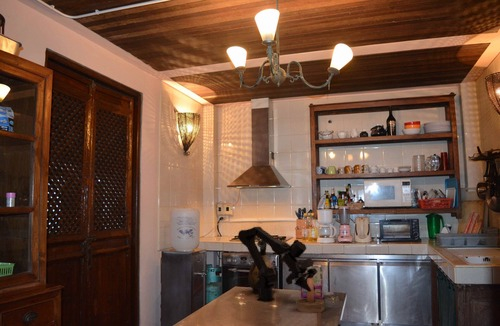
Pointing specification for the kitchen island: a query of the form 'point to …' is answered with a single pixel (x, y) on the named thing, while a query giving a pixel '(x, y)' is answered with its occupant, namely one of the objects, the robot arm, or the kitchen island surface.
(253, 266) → the ceramic jug
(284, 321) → the kitchen island surface
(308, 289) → the robot arm
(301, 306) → the wooden bowl
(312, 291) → the dowel
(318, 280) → the candy bar box
